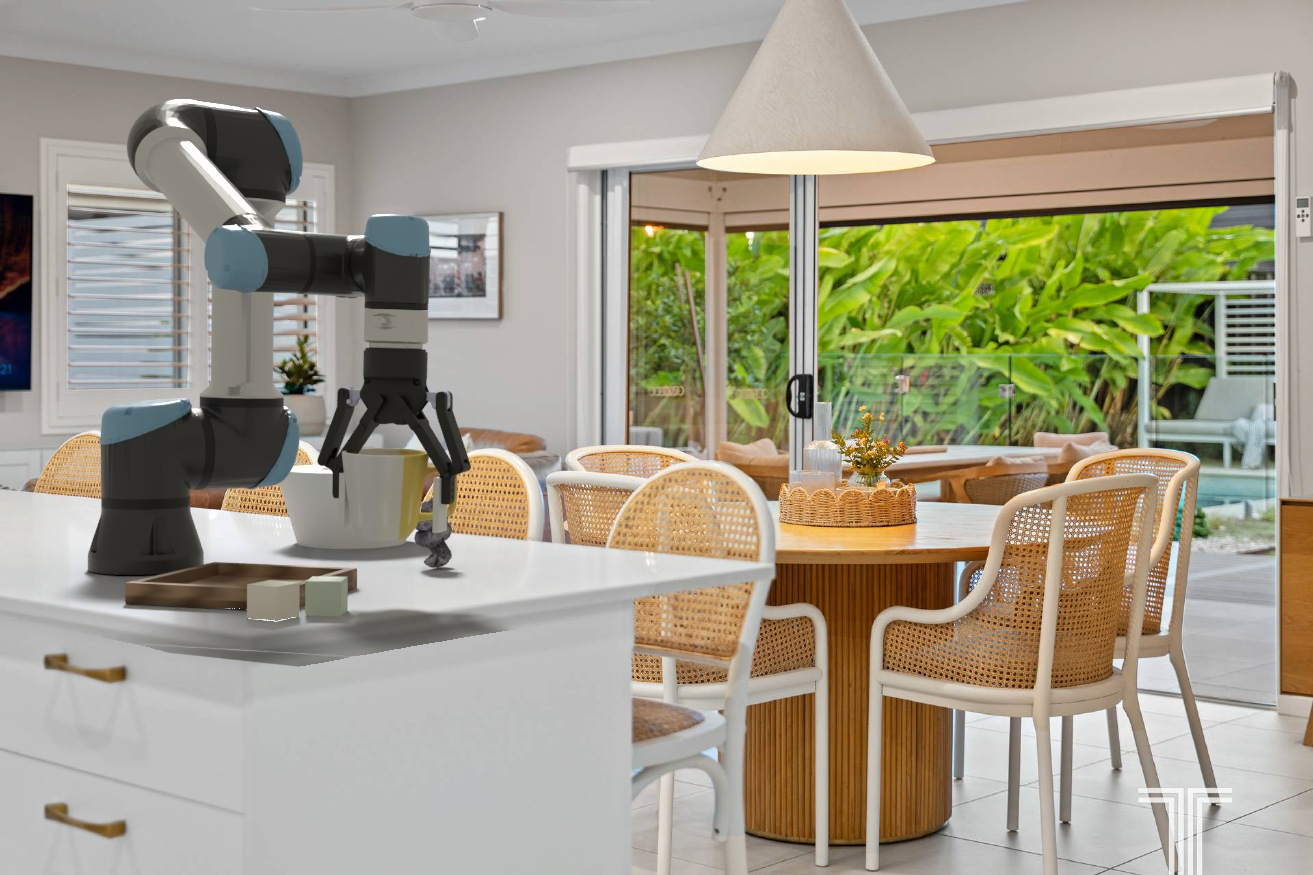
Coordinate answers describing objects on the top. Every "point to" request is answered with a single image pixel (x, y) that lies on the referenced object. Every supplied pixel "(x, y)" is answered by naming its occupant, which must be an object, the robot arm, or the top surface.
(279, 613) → the cream block
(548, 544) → the top surface
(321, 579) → the sage block
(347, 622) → the top surface
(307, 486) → the bowl
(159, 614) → the top surface
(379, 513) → the mug
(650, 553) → the top surface
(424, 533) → the grey stone bust
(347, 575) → the tray
